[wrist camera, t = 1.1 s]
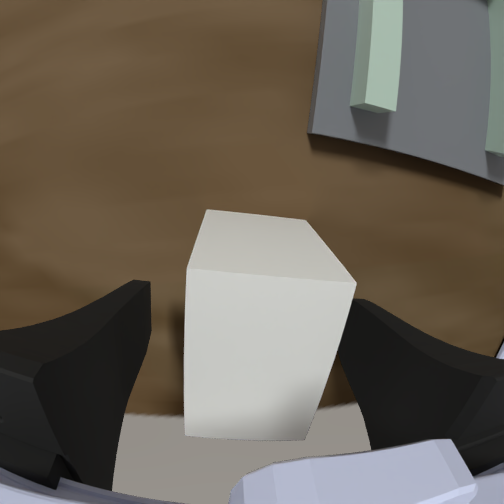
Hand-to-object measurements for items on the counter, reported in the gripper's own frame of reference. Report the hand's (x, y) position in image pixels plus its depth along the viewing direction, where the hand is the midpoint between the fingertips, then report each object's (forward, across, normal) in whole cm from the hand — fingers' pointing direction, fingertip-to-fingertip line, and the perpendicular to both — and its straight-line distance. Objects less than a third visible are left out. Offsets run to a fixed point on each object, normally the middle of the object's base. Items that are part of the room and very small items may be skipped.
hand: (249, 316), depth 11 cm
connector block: (+3, 0, 0) cm, 3 cm away
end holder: (+3, -7, -13) cm, 15 cm away
